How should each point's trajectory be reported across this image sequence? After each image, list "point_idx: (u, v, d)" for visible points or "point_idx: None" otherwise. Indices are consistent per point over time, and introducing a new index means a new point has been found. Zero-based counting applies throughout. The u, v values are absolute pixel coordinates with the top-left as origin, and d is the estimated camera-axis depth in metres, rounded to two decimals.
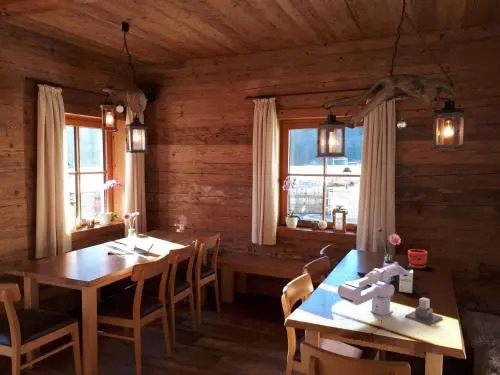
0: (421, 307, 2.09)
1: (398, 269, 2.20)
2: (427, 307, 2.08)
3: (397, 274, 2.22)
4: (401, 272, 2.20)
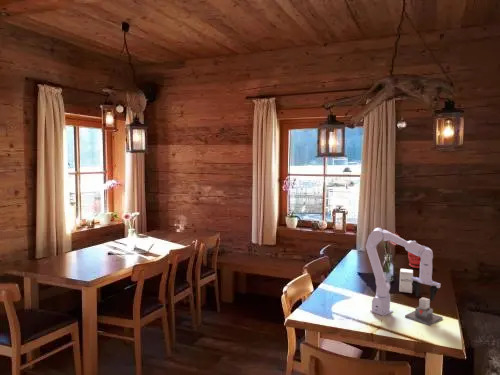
0: (421, 307, 2.09)
1: None
2: (427, 307, 2.08)
3: None
4: (419, 279, 2.12)
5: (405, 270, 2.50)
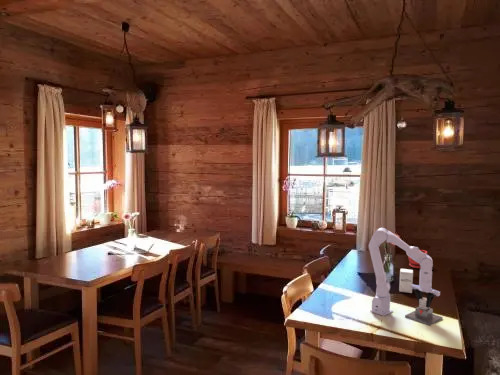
0: (421, 307, 2.09)
1: (419, 285, 2.10)
2: None
3: None
4: None
5: (405, 270, 2.50)
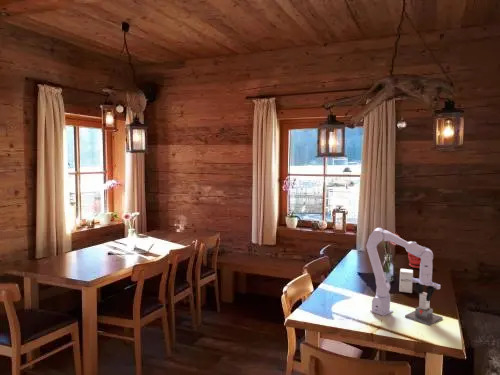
0: (421, 301, 2.09)
1: (419, 278, 2.10)
2: (427, 302, 2.08)
3: None
4: None
5: (405, 270, 2.50)
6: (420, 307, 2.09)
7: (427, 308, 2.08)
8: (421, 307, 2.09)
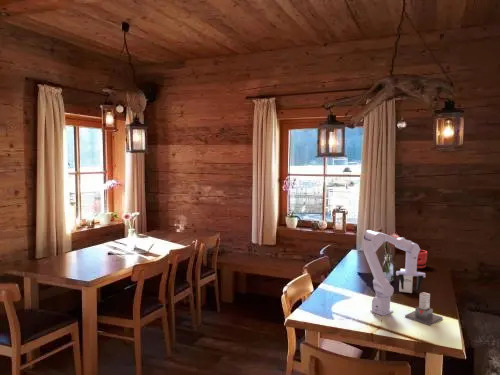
0: (421, 301, 2.09)
1: (405, 270, 2.21)
2: (427, 302, 2.08)
3: None
4: None
5: None
6: (420, 307, 2.09)
7: (427, 308, 2.08)
8: (421, 307, 2.09)
